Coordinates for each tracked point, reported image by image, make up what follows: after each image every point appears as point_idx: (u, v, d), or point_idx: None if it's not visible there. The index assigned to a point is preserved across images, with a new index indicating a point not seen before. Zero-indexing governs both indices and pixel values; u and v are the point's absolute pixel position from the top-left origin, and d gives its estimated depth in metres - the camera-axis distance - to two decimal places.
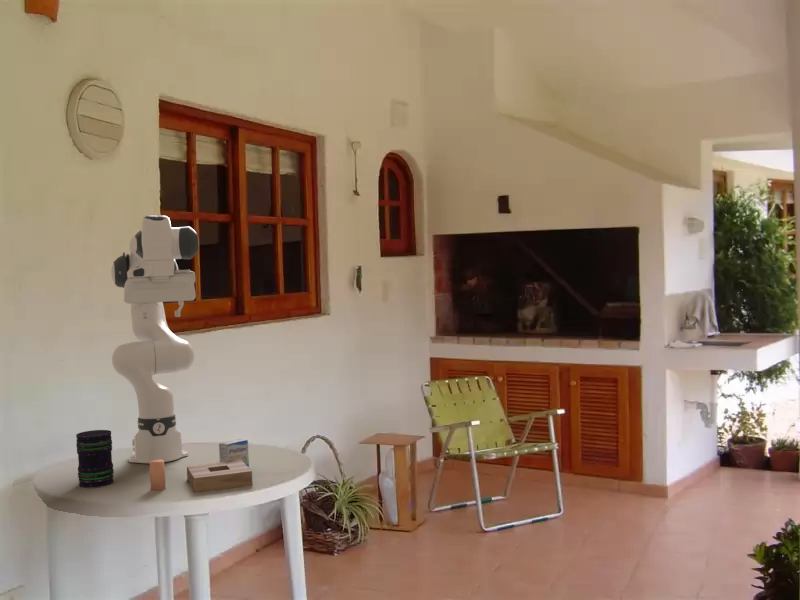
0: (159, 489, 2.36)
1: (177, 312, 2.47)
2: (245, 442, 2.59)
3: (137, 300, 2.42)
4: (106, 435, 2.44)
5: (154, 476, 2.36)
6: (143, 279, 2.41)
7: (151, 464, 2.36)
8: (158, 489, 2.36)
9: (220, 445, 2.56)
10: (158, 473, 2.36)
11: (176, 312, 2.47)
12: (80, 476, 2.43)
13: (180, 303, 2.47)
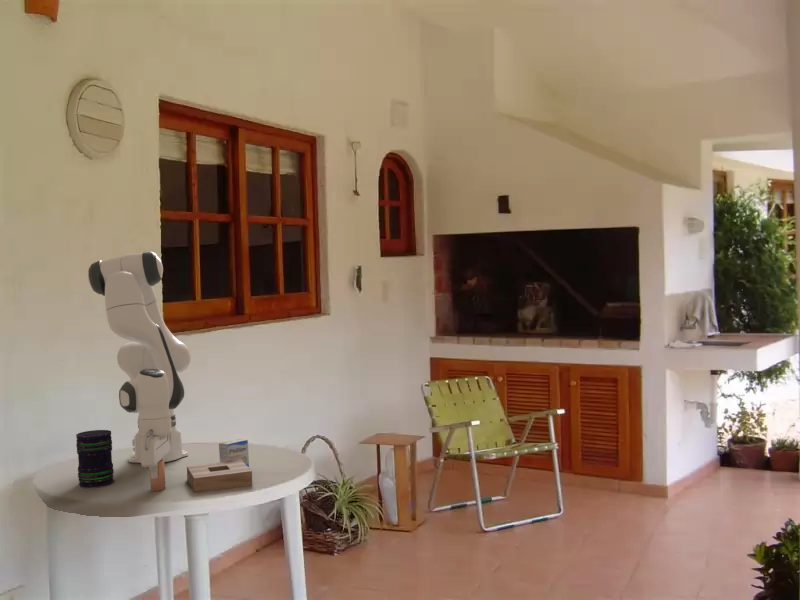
0: (159, 489, 2.36)
1: None
2: (245, 442, 2.59)
3: None
4: (106, 435, 2.44)
5: None
6: None
7: None
8: (158, 489, 2.36)
9: (220, 445, 2.56)
10: None
11: None
12: (80, 476, 2.43)
13: None
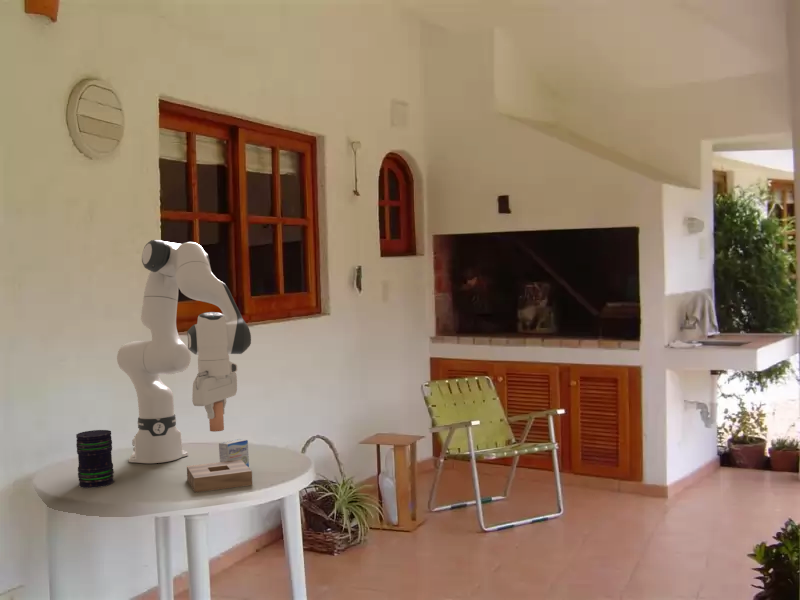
0: (216, 429, 2.41)
1: None
2: (245, 442, 2.59)
3: None
4: (106, 435, 2.44)
5: None
6: None
7: None
8: (215, 430, 2.41)
9: (220, 445, 2.56)
10: (215, 414, 2.40)
11: None
12: (80, 476, 2.43)
13: None
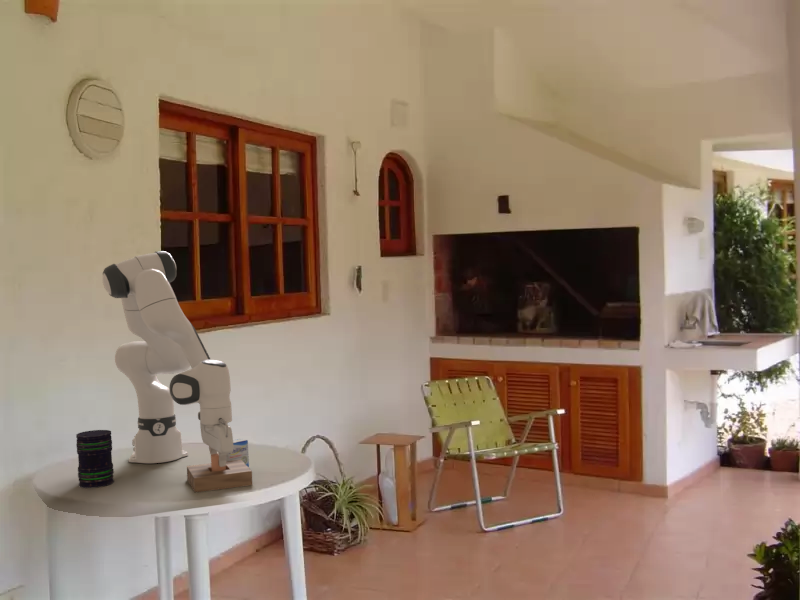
0: None
1: (218, 462, 2.39)
2: (245, 442, 2.59)
3: (205, 442, 2.48)
4: (106, 435, 2.44)
5: (219, 469, 2.41)
6: None
7: (216, 458, 2.41)
8: None
9: None
10: None
11: (218, 461, 2.40)
12: (80, 476, 2.43)
13: (218, 453, 2.38)
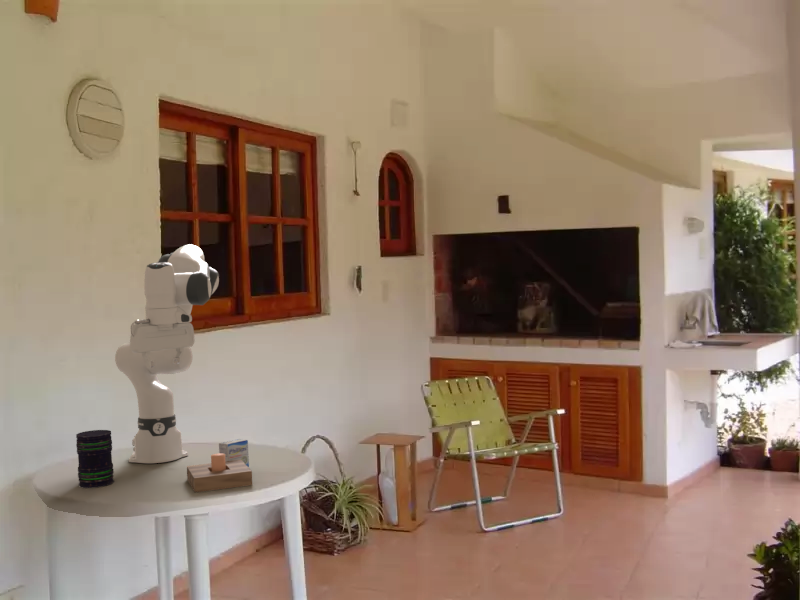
0: None
1: None
2: (245, 442, 2.59)
3: None
4: (106, 435, 2.44)
5: (219, 469, 2.41)
6: None
7: (216, 458, 2.41)
8: None
9: (220, 445, 2.56)
10: (222, 466, 2.42)
11: None
12: (80, 476, 2.43)
13: None
